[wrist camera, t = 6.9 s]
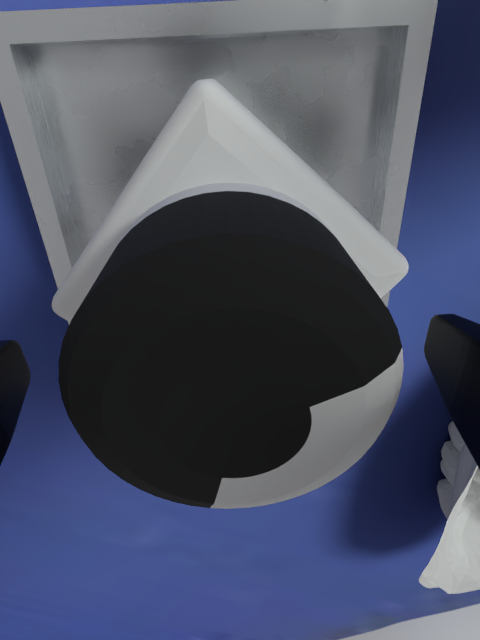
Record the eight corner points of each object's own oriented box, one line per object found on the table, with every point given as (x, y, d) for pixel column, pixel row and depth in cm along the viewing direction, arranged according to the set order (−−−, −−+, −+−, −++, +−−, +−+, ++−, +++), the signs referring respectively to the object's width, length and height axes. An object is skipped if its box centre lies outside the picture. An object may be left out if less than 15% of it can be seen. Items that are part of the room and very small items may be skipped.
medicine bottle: (106, 227, 17) (-69, 460, 7) (208, 72, 14) (180, 61, 4) (238, 317, 19) (259, 586, 9) (346, 200, 17) (548, 394, 6)
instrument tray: (415, 0, 14) (439, -9, 12) (366, 341, 21) (378, 362, 19) (0, 20, 14) (-27, 13, 12) (95, 357, 21) (85, 379, 19)
